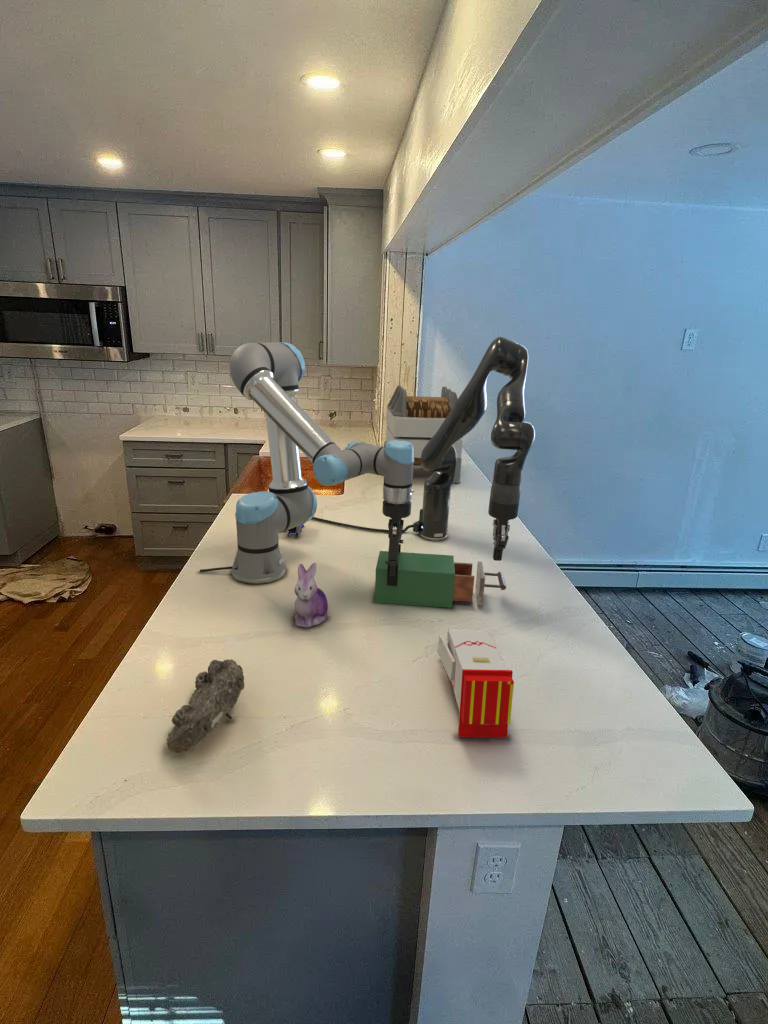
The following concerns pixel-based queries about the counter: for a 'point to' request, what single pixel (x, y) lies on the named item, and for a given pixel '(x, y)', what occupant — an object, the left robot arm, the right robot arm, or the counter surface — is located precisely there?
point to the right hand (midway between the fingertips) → (496, 559)
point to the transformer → (420, 421)
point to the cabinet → (417, 580)
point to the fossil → (206, 705)
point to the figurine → (309, 599)
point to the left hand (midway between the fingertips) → (393, 575)
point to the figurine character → (294, 530)
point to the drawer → (472, 582)
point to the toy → (478, 682)
